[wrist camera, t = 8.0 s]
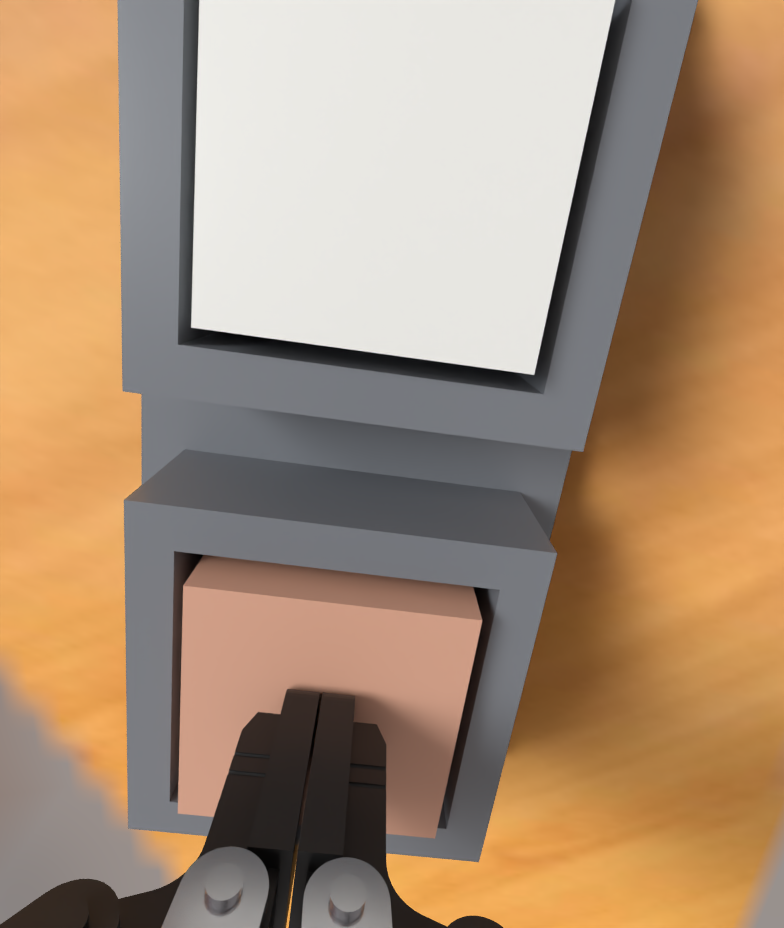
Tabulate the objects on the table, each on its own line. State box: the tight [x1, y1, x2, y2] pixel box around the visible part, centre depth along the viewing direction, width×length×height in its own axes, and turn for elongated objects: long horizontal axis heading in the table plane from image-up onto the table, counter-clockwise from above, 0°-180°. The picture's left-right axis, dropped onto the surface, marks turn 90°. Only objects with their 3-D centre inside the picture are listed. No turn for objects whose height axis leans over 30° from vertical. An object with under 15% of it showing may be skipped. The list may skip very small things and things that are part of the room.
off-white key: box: [191, 0, 615, 375], centre depth 10 cm, size 6×6×3 cm
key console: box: [118, 0, 698, 862], centre depth 13 cm, size 22×11×5 cm, turn 172°
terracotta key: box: [178, 555, 482, 839], centre depth 14 cm, size 6×6×3 cm
